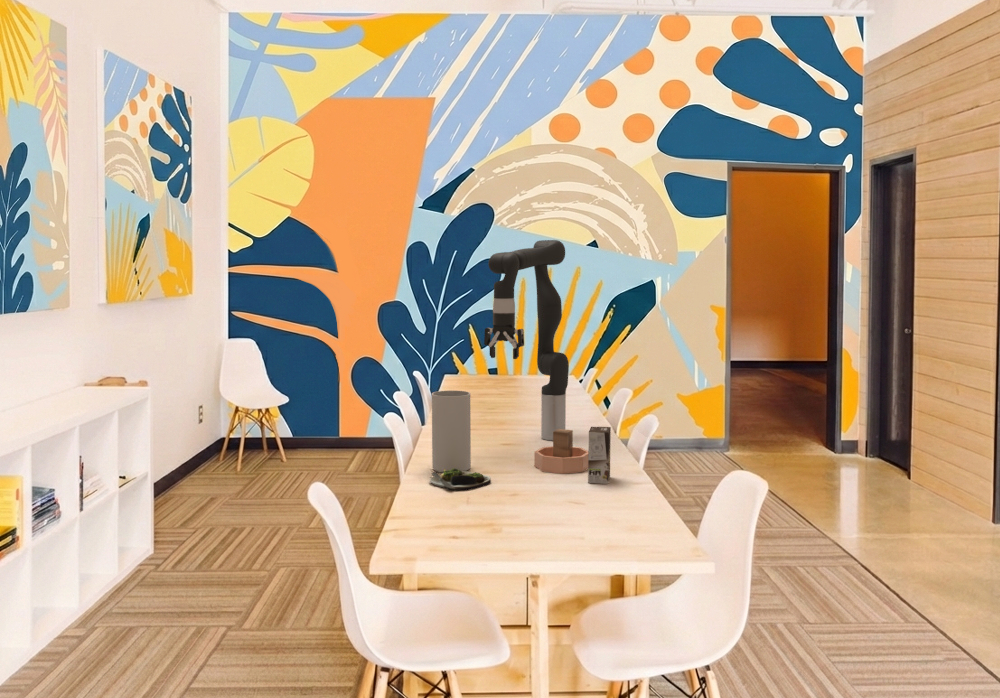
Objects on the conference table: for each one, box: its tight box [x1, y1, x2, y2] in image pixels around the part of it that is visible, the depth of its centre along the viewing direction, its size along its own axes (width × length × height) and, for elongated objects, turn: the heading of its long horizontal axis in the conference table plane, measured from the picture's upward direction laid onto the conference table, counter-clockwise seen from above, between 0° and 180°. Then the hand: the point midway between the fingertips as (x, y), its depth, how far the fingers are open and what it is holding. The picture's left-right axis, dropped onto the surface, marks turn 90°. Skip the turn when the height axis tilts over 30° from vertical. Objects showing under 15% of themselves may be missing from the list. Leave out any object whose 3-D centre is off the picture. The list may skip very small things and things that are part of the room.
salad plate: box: [429, 468, 492, 492], centre depth 254 cm, size 19×18×5 cm
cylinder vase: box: [431, 389, 472, 474], centre depth 269 cm, size 12×12×25 cm
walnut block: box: [552, 428, 574, 458], centre depth 273 cm, size 5×5×11 cm
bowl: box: [533, 445, 589, 475], centre depth 273 cm, size 17×17×5 cm
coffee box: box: [587, 426, 612, 485], centre depth 256 cm, size 9×6×16 cm
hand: (504, 358), depth 286 cm, fingers open, 8 cm apart
